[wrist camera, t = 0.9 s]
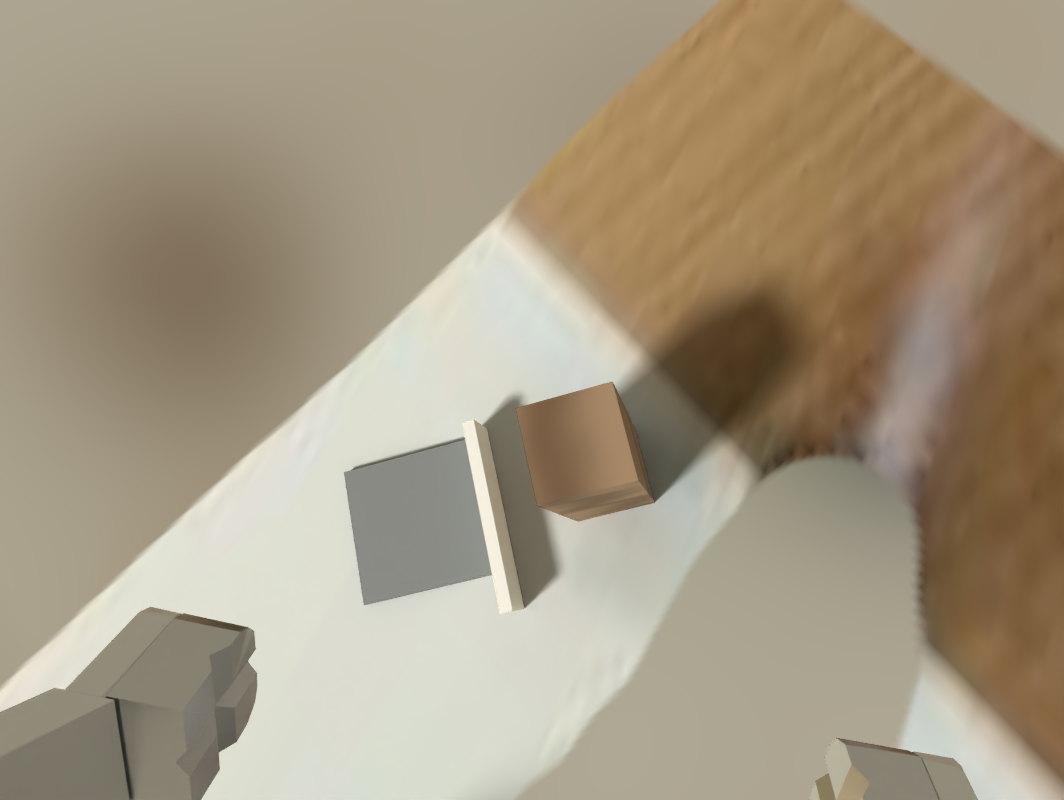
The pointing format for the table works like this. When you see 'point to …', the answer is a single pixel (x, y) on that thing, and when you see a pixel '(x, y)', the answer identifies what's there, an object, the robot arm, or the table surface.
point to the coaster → (416, 523)
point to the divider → (493, 518)
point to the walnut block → (584, 454)
